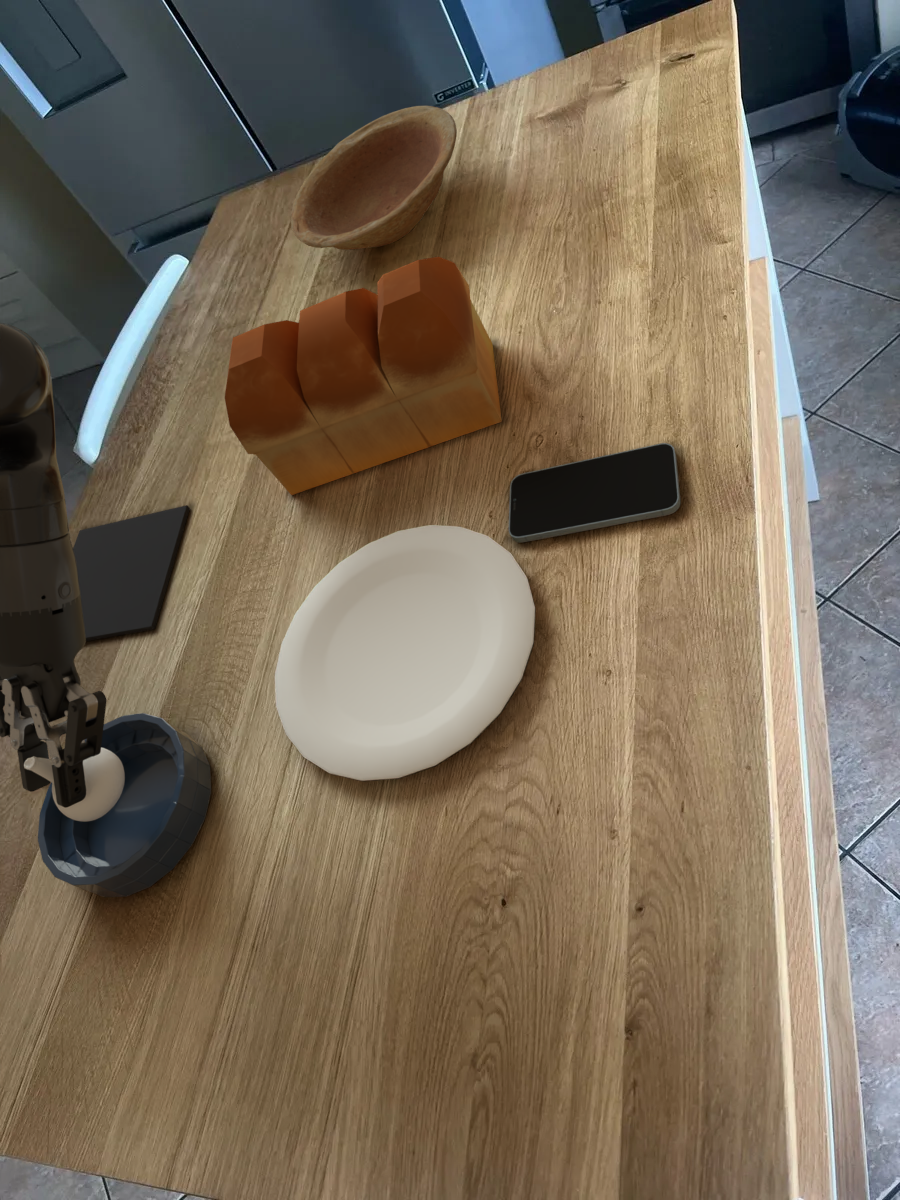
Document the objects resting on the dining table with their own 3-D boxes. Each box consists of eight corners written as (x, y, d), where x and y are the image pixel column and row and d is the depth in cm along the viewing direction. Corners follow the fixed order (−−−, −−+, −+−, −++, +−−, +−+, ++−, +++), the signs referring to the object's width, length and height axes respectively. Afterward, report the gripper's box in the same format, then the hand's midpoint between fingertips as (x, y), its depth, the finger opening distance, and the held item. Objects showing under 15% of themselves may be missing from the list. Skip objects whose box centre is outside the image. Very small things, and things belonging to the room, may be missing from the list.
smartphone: (679, 507, 74) (508, 540, 80) (681, 514, 75) (511, 546, 80) (673, 440, 78) (510, 475, 84) (675, 446, 79) (513, 481, 84)
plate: (353, 849, 71) (343, 843, 70) (245, 651, 87) (235, 642, 86) (600, 650, 71) (594, 640, 70) (447, 489, 87) (440, 478, 86)
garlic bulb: (142, 758, 78) (77, 720, 72) (115, 828, 75) (44, 796, 69) (90, 753, 81) (23, 717, 75) (61, 822, 78) (-11, 790, 72)
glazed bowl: (53, 901, 81) (15, 887, 77) (101, 741, 89) (69, 722, 85) (192, 896, 75) (157, 881, 71) (231, 725, 83) (201, 705, 79)
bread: (287, 498, 97) (204, 405, 85) (293, 417, 104) (217, 320, 92) (506, 422, 89) (446, 308, 78) (495, 340, 96) (439, 225, 85)
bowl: (334, 190, 128) (305, 139, 122) (490, 138, 118) (466, 80, 112) (298, 305, 116) (264, 255, 110) (468, 258, 106) (441, 200, 100)
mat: (40, 649, 100) (36, 646, 100) (83, 532, 109) (79, 530, 108) (155, 629, 94) (151, 626, 94) (190, 508, 103) (186, 504, 102)
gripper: (-72, 591, 70) (-38, 790, 75) (37, 622, 62) (67, 841, 67) (18, 570, 76) (44, 756, 81) (128, 597, 68) (149, 799, 73)
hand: (54, 793), depth 74 cm, fingers closed on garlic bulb, 4 cm apart
